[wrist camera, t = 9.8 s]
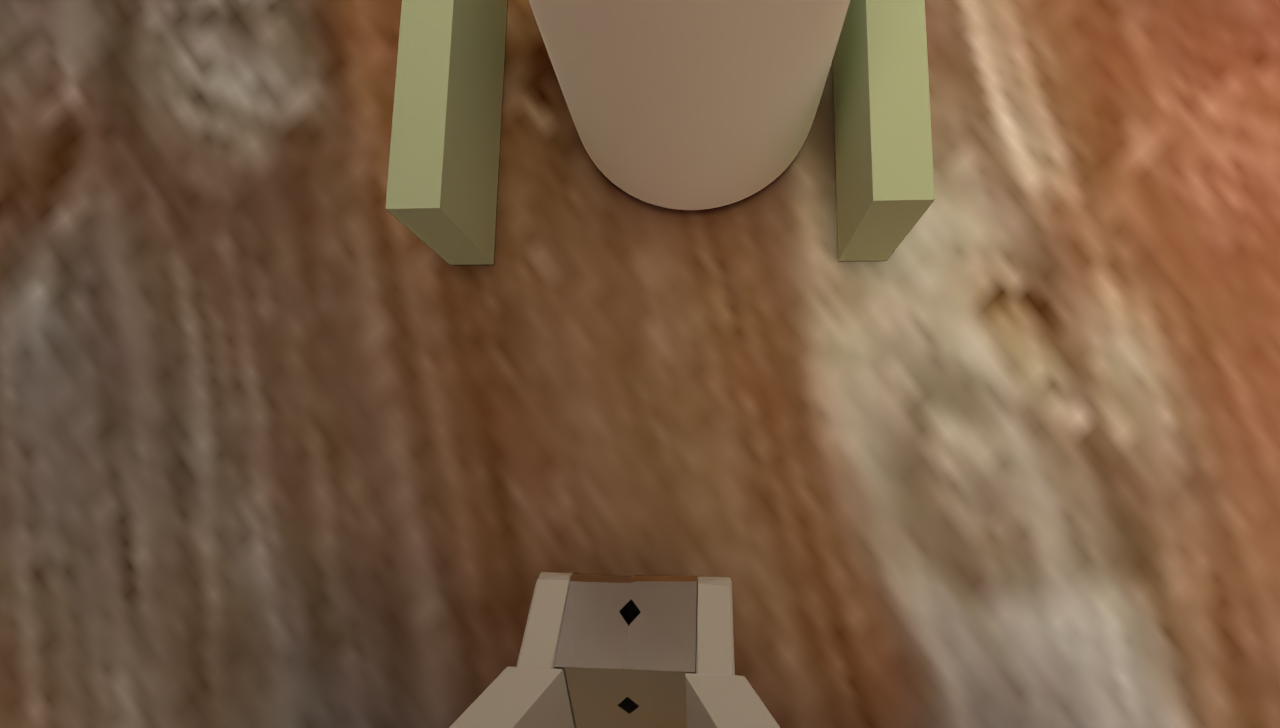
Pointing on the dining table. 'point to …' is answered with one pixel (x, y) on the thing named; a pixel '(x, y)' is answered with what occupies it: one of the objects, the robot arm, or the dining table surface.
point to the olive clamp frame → (472, 108)
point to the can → (691, 89)
